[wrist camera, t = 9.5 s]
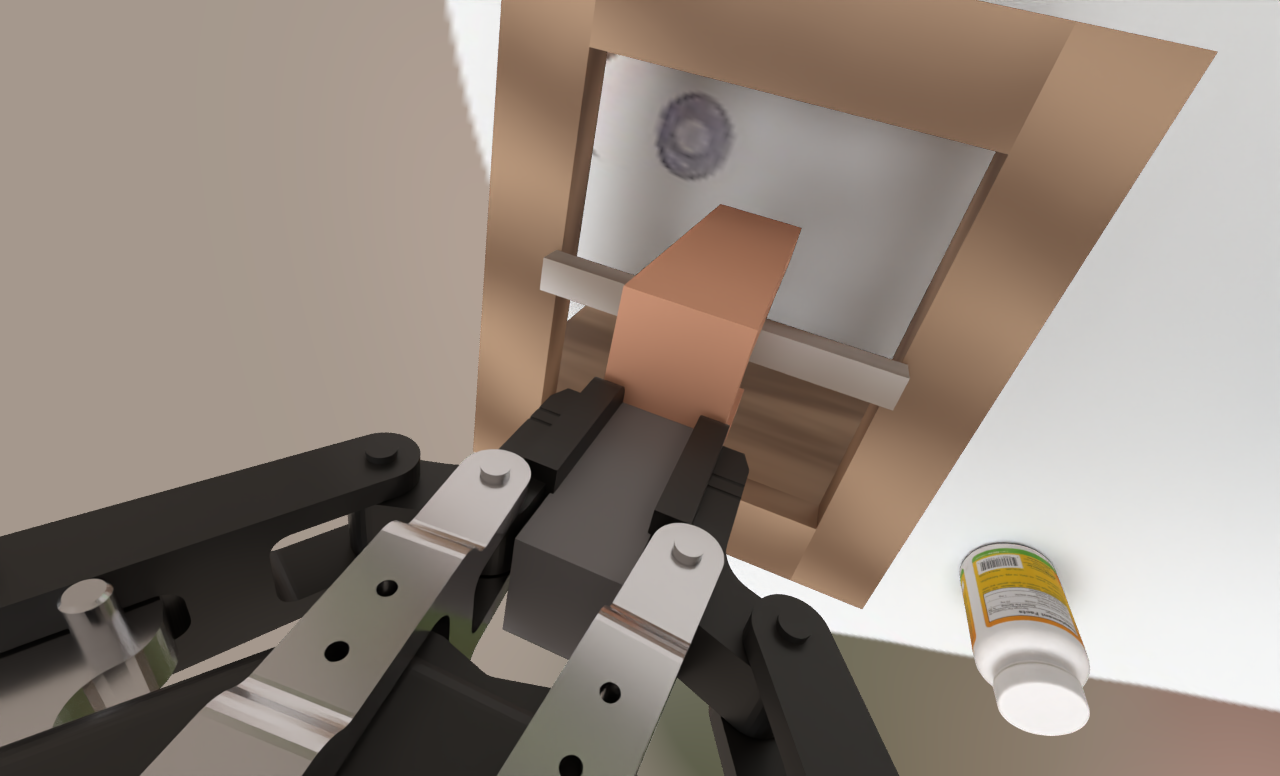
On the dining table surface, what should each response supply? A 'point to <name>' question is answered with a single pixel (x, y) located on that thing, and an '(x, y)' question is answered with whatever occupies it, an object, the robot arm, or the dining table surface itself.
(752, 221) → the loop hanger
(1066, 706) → the supplement bottle
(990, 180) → the wooden frame stand
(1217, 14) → the dining table surface
